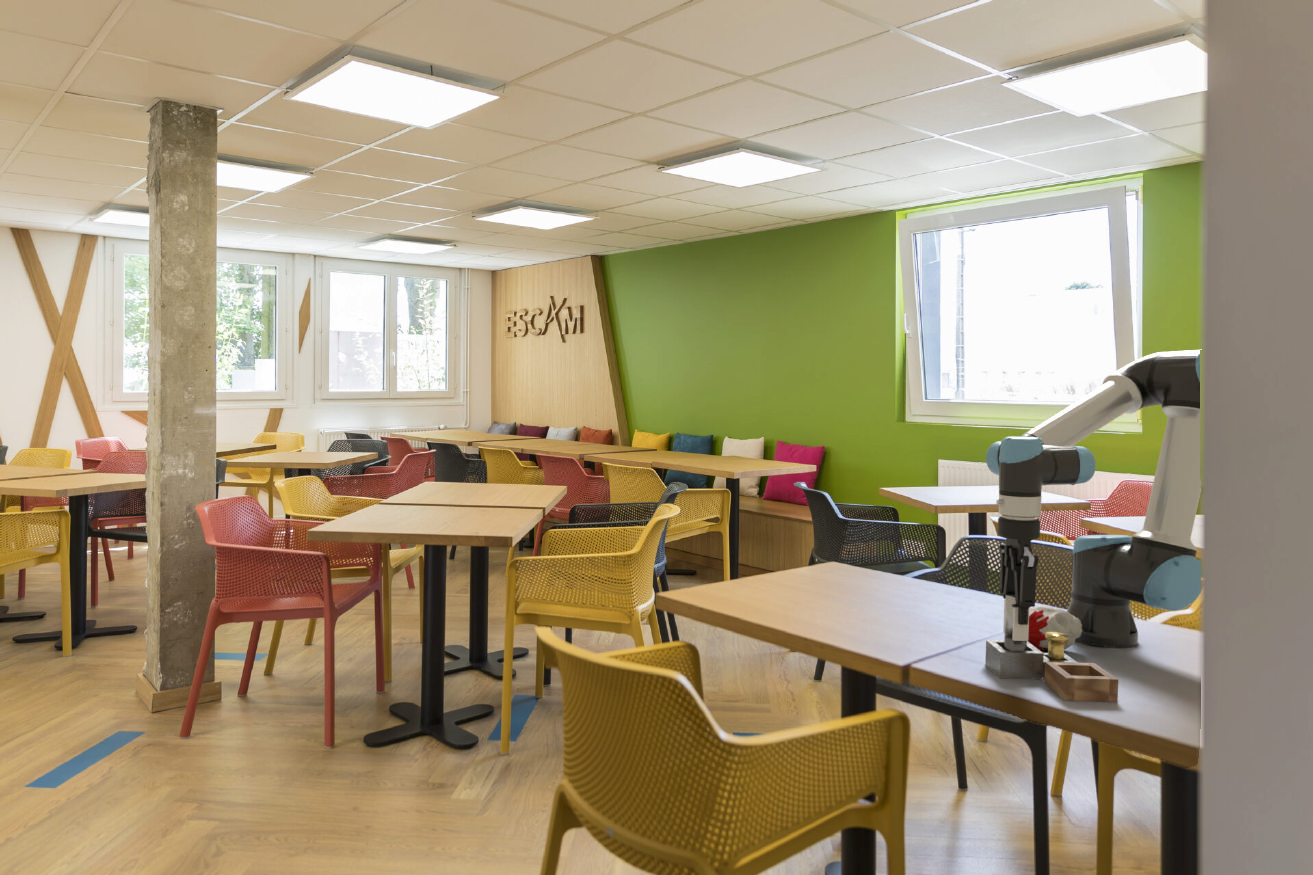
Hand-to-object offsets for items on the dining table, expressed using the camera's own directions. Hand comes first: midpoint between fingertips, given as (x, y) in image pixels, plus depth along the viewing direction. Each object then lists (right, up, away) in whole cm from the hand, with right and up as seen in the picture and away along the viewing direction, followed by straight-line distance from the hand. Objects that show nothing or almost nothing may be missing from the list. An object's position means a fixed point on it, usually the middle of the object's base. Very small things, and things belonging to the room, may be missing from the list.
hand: (1015, 636), depth 165 cm
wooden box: (+7, -8, -11) cm, 15 cm away
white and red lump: (+11, -7, +16) cm, 21 cm away
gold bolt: (+8, -7, 0) cm, 10 cm away
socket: (+3, -7, 0) cm, 8 cm away
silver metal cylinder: (0, -6, 0) cm, 6 cm away
